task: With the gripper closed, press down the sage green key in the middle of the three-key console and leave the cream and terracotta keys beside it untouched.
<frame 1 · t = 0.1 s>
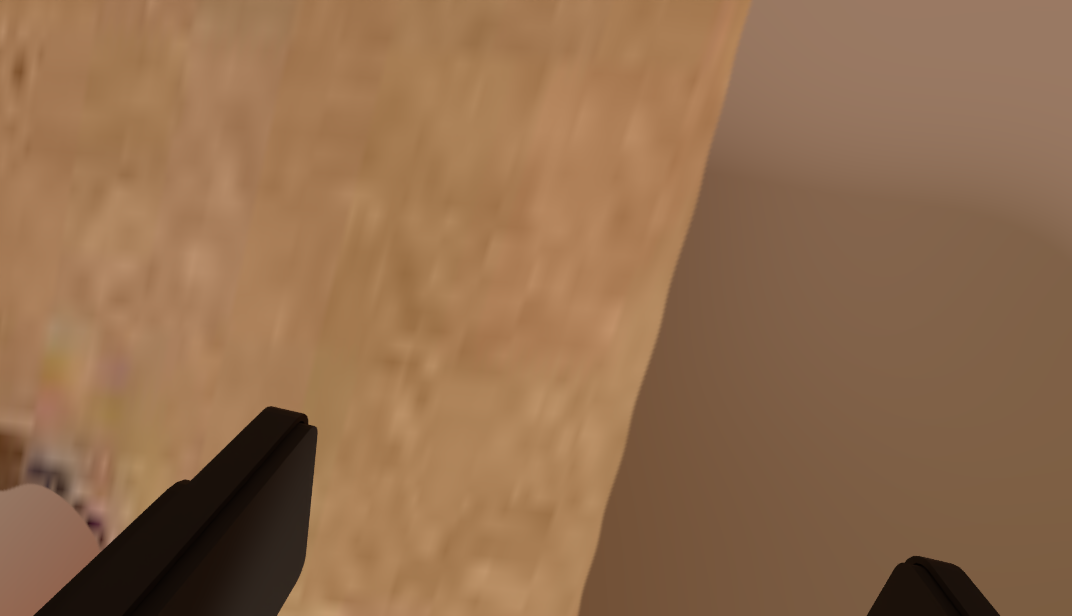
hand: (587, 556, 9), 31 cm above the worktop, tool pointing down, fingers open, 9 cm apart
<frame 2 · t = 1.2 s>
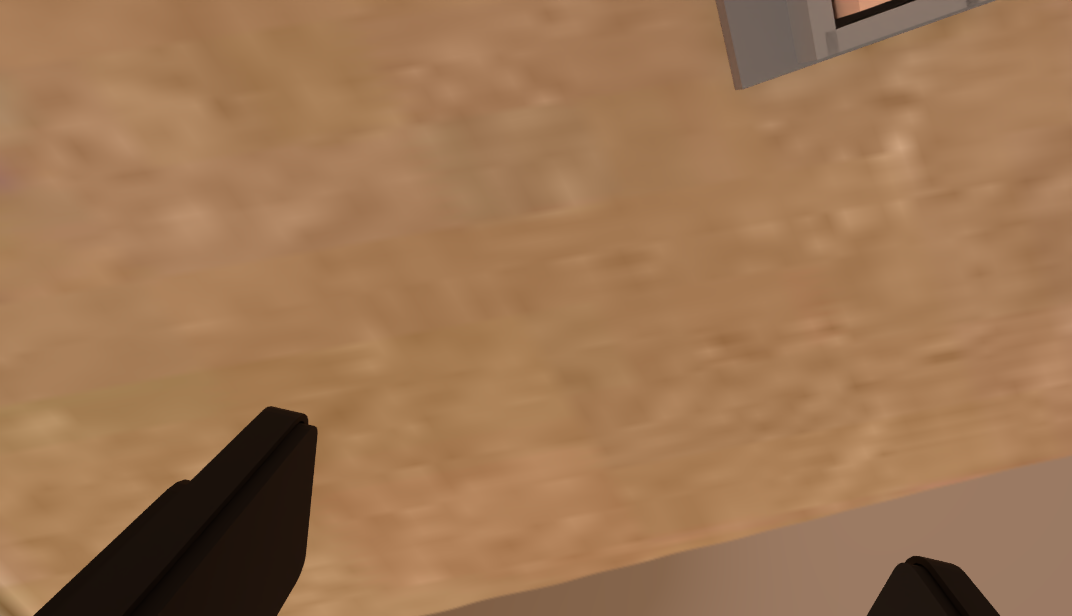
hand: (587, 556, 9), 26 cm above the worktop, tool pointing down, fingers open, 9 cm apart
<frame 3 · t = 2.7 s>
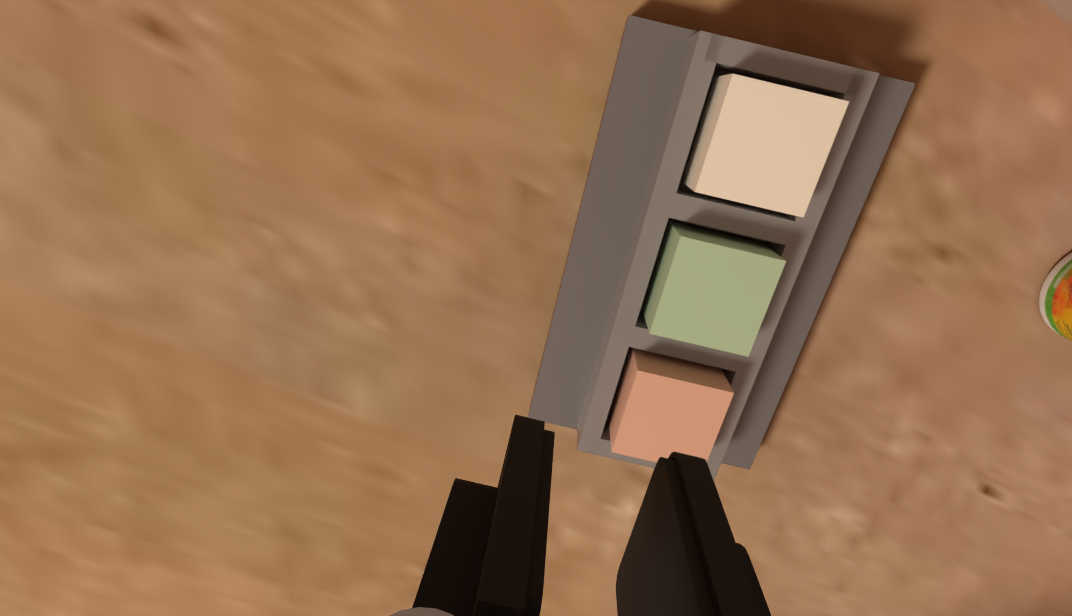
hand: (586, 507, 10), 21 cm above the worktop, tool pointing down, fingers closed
console: (691, 263, 30), on the worktop
sage key: (707, 287, 26), point 4 cm above the worktop, slide at 0.0 cm
cream key: (757, 145, 24), point 4 cm above the worktop, slide at 0.0 cm
terracotta key: (666, 406, 28), point 4 cm above the worktop, slide at 0.0 cm
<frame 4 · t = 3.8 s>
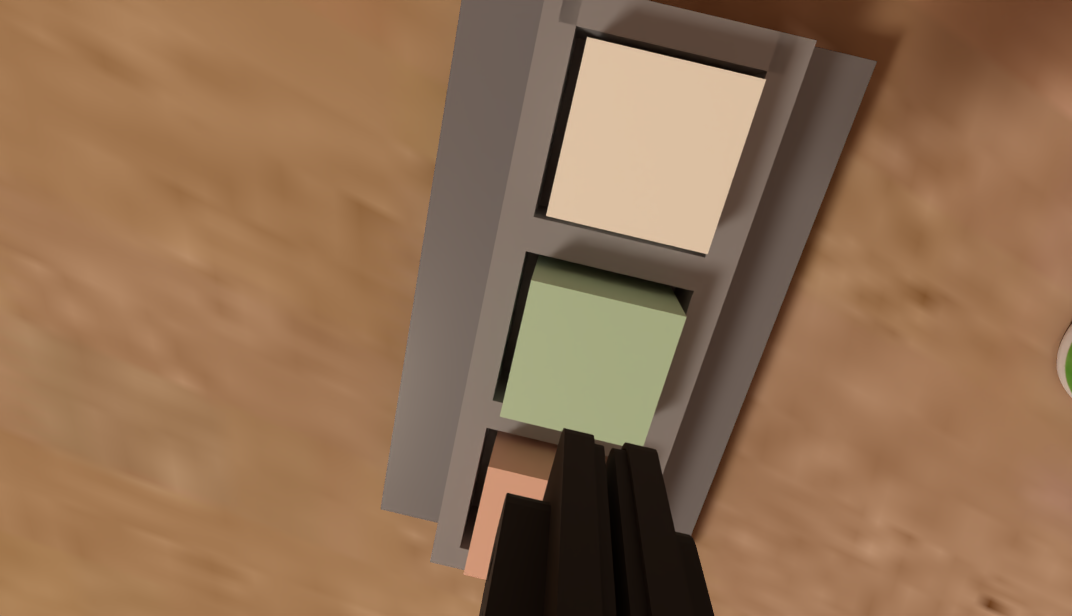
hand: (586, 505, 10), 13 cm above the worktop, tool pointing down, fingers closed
console: (587, 309, 22), on the worktop
sage key: (588, 348, 19), point 4 cm above the worktop, slide at 0.0 cm
cream key: (644, 148, 16), point 4 cm above the worktop, slide at 0.0 cm
terracotta key: (544, 507, 21), point 4 cm above the worktop, slide at 0.0 cm
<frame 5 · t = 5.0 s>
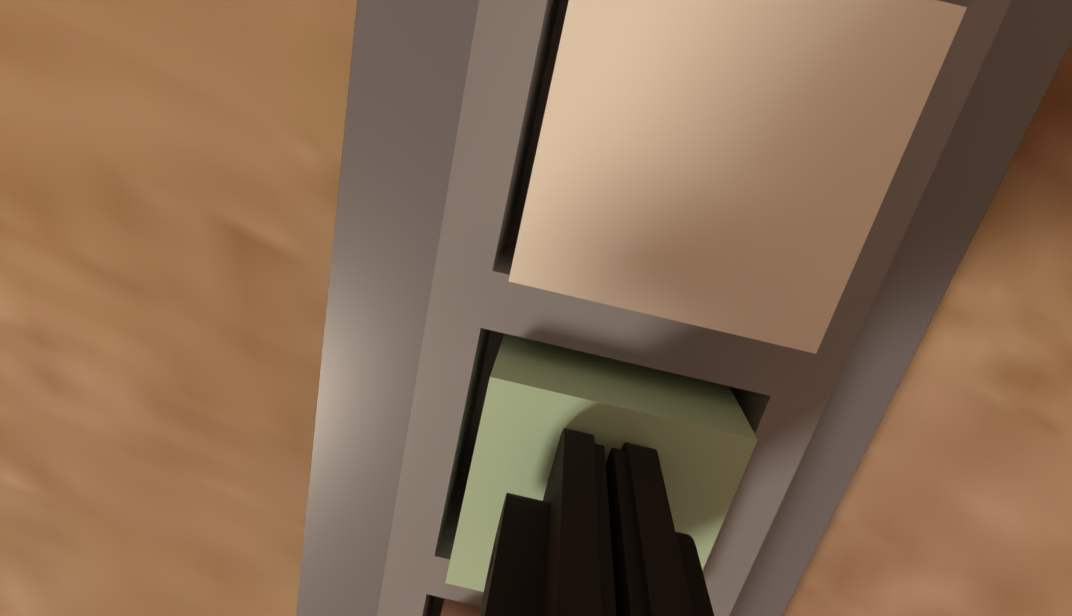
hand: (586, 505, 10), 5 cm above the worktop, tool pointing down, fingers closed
console: (586, 387, 15), on the worktop
sage key: (588, 464, 12), point 3 cm above the worktop, slide at 0.6 cm, touching gripper
cream key: (691, 150, 9), point 4 cm above the worktop, slide at 0.0 cm
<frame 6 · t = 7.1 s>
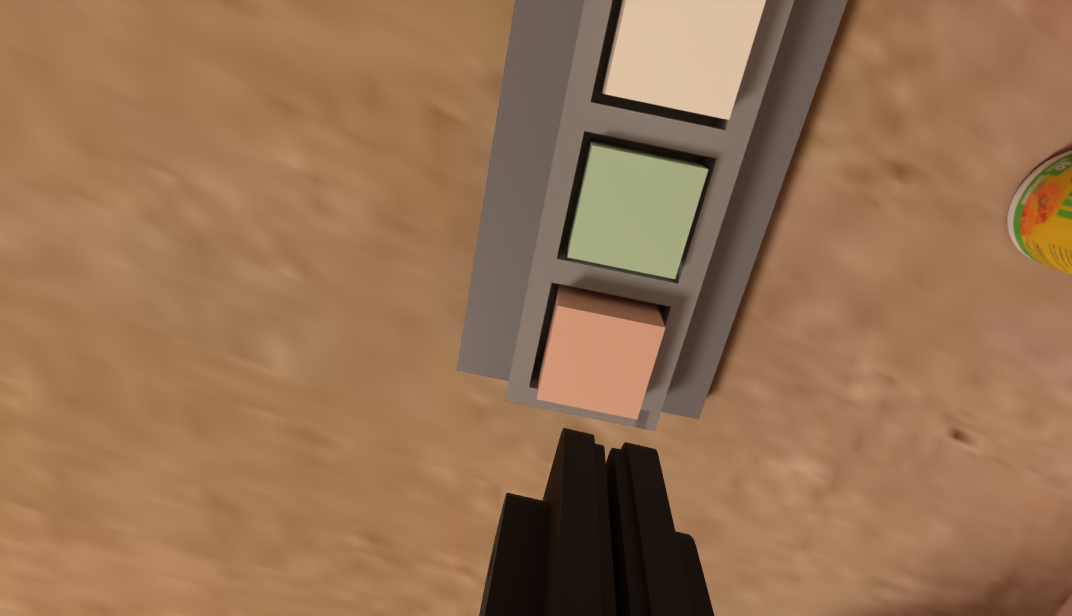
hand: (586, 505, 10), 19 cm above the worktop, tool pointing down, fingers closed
console: (625, 193, 27), on the worktop
supplement bottle: (1062, 205, 26), on the worktop
sage key: (631, 206, 24), point 3 cm above the worktop, slide at 0.8 cm
cream key: (677, 41, 21), point 4 cm above the worktop, slide at 0.0 cm
terracotta key: (597, 348, 26), point 4 cm above the worktop, slide at 0.0 cm
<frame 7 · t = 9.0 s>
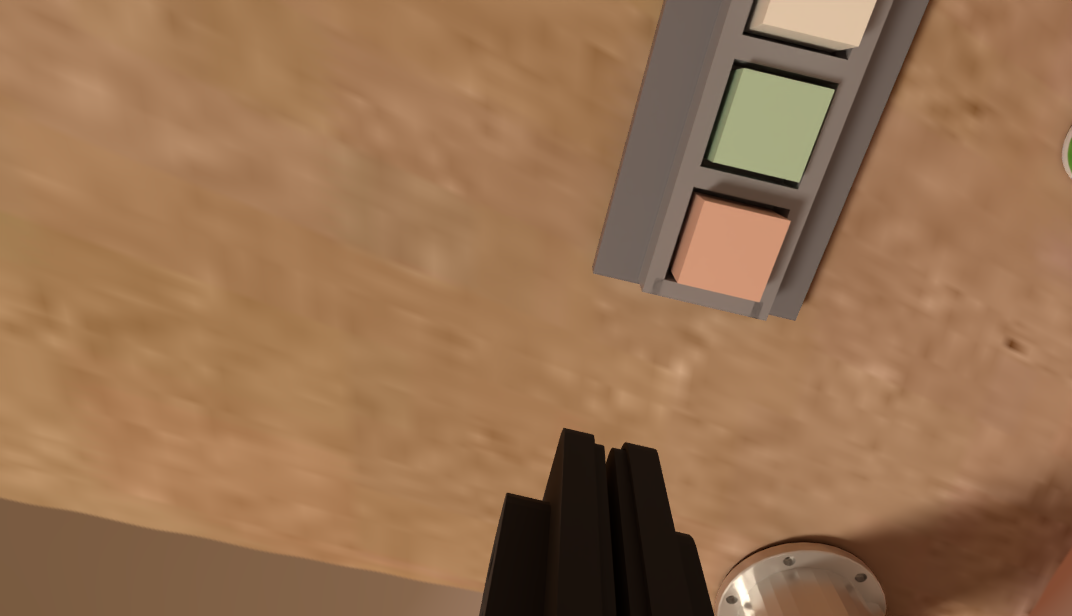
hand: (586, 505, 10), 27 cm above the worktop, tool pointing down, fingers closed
console: (746, 123, 33), on the worktop
sage key: (762, 125, 30), point 3 cm above the worktop, slide at 0.8 cm
terracotta key: (725, 245, 31), point 4 cm above the worktop, slide at 0.0 cm
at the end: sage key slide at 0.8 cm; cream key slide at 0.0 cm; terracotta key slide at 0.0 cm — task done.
